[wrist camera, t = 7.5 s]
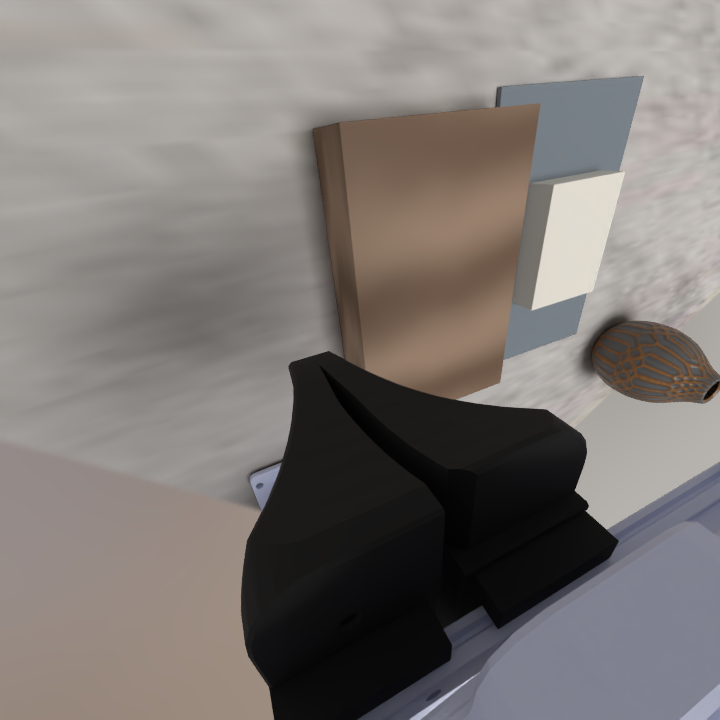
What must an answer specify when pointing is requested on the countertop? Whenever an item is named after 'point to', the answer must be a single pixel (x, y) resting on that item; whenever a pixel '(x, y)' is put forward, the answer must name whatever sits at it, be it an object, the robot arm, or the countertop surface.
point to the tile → (564, 236)
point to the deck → (427, 240)
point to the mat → (568, 172)
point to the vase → (654, 364)
